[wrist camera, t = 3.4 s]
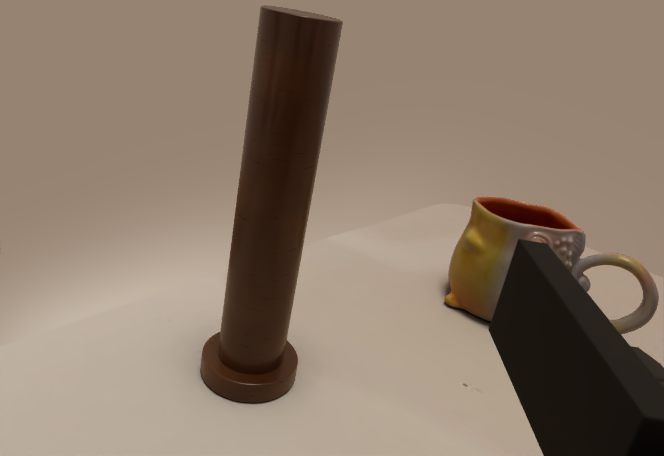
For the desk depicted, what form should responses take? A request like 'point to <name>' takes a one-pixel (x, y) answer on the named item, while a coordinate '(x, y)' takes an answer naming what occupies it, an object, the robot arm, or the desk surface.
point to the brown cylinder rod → (273, 204)
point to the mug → (498, 248)
